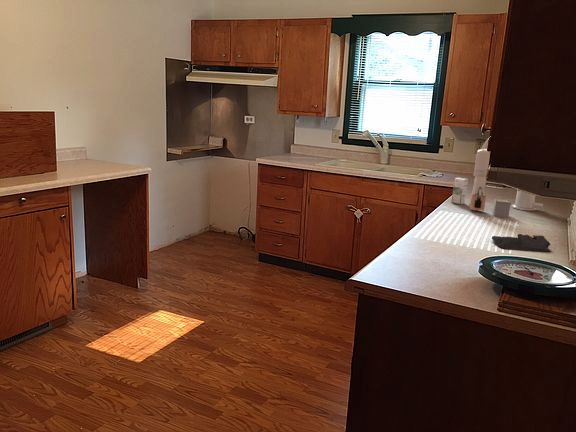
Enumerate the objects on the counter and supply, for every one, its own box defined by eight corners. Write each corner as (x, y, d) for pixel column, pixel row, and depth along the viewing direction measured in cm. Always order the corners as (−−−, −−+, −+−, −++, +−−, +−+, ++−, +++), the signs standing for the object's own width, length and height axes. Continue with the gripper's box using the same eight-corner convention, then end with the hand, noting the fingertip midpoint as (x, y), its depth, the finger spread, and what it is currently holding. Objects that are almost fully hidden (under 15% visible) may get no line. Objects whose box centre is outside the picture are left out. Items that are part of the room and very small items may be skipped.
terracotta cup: (482, 207, 271) (484, 193, 269) (483, 210, 264) (486, 195, 262) (469, 206, 273) (471, 192, 271) (470, 209, 266) (472, 194, 264)
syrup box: (464, 203, 288) (468, 178, 284) (460, 204, 284) (464, 179, 280) (455, 201, 291) (459, 177, 288) (450, 202, 287) (454, 177, 284)
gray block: (506, 215, 264) (508, 200, 262) (508, 217, 258) (510, 202, 256) (492, 213, 266) (494, 198, 264) (493, 216, 260) (496, 201, 258)
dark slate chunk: (486, 239, 216) (488, 229, 215) (537, 243, 216) (539, 232, 215) (500, 250, 201) (502, 239, 200) (555, 254, 201) (557, 242, 200)
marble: (478, 211, 270) (479, 205, 269) (478, 212, 267) (479, 206, 266) (471, 210, 271) (472, 204, 270) (472, 211, 268) (473, 205, 267)
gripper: (472, 170, 273) (468, 202, 277) (475, 175, 257) (470, 209, 261) (487, 171, 271) (482, 203, 275) (490, 176, 255) (485, 210, 259)
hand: (476, 206), depth 268 cm, fingers closed on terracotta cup, 7 cm apart
